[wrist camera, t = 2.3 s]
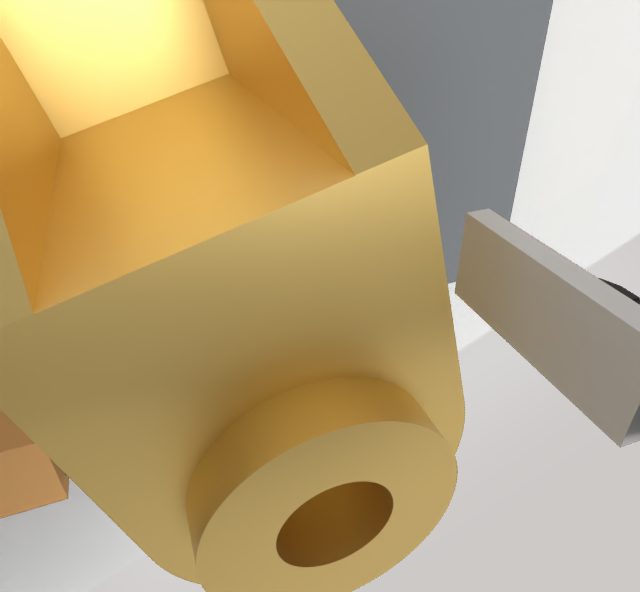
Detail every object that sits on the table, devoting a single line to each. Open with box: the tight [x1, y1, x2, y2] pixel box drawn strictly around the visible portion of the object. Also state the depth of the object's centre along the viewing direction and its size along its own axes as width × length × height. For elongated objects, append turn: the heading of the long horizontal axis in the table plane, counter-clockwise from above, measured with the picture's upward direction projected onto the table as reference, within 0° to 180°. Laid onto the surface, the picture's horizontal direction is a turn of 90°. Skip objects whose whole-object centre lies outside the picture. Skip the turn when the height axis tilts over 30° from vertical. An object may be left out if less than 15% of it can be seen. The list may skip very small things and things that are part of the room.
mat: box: [334, 0, 553, 283], centre depth 26 cm, size 12×18×1 cm, turn 2°
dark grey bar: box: [0, 409, 69, 519], centre depth 27 cm, size 17×4×4 cm, turn 92°
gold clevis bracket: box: [0, 0, 465, 592], centre depth 16 cm, size 20×9×16 cm, turn 17°
